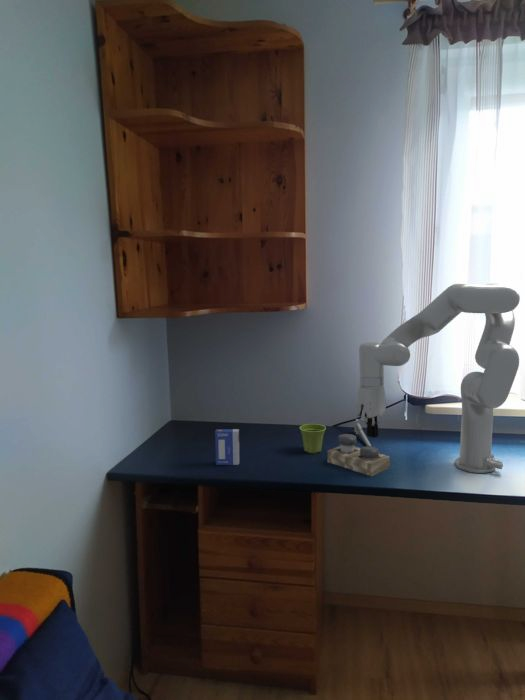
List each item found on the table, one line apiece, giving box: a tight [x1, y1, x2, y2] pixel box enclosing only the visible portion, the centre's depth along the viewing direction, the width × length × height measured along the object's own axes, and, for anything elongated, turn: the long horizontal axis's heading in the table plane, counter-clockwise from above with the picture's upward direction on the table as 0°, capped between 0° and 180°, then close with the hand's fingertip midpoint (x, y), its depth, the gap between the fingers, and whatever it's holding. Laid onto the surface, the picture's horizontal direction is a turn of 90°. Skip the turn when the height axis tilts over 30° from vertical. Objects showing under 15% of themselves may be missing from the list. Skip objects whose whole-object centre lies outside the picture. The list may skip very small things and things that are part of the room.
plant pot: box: [299, 423, 327, 454], centre depth 192 cm, size 9×9×9 cm
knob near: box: [359, 445, 380, 461], centre depth 175 cm, size 6×6×6 cm
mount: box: [326, 445, 391, 477], centre depth 178 cm, size 18×10×4 cm, turn 44°
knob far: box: [337, 433, 357, 454], centre depth 181 cm, size 6×6×6 cm
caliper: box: [354, 418, 372, 447], centre depth 203 cm, size 20×1×6 cm, turn 6°
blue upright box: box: [214, 428, 240, 466], centre depth 180 cm, size 8×3×12 cm, turn 90°
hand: (372, 436), depth 174 cm, fingers closed
